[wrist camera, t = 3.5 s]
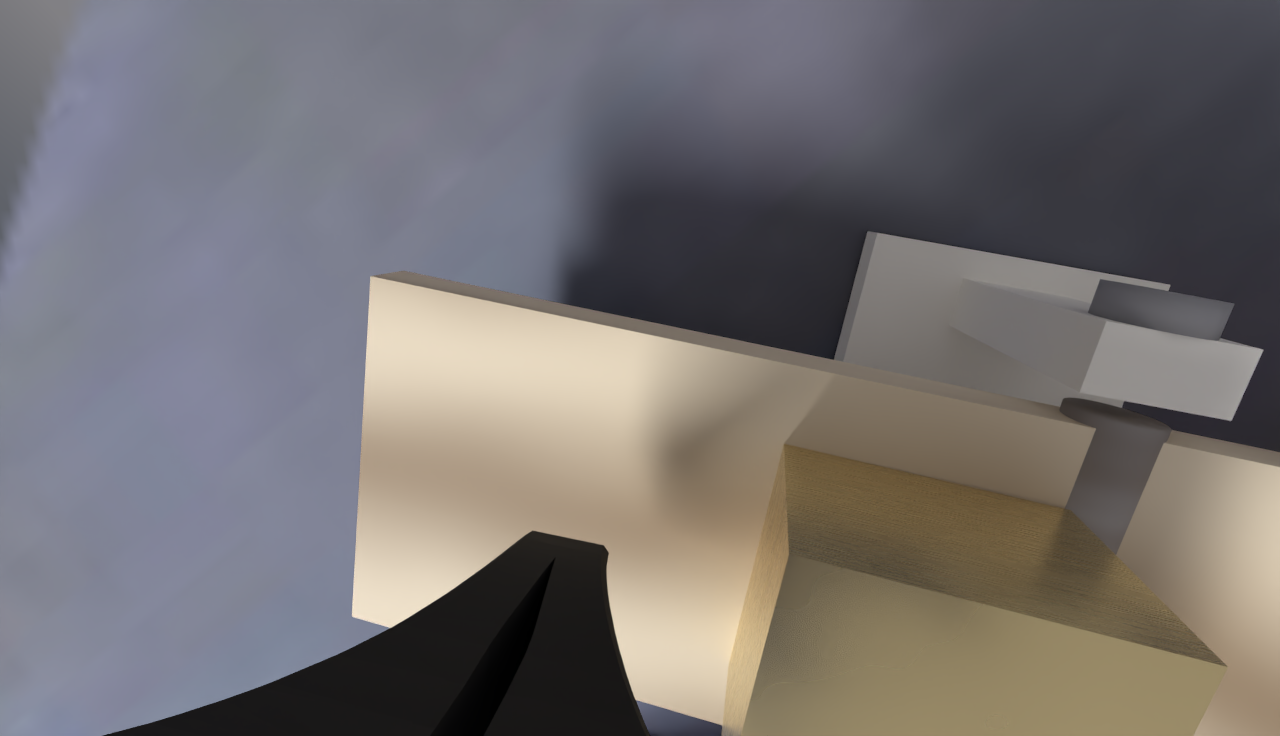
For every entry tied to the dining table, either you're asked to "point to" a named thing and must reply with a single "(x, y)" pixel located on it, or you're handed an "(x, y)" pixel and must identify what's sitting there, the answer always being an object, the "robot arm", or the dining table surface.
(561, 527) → the beam
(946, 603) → the rider
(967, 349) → the stand
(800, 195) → the dining table surface
